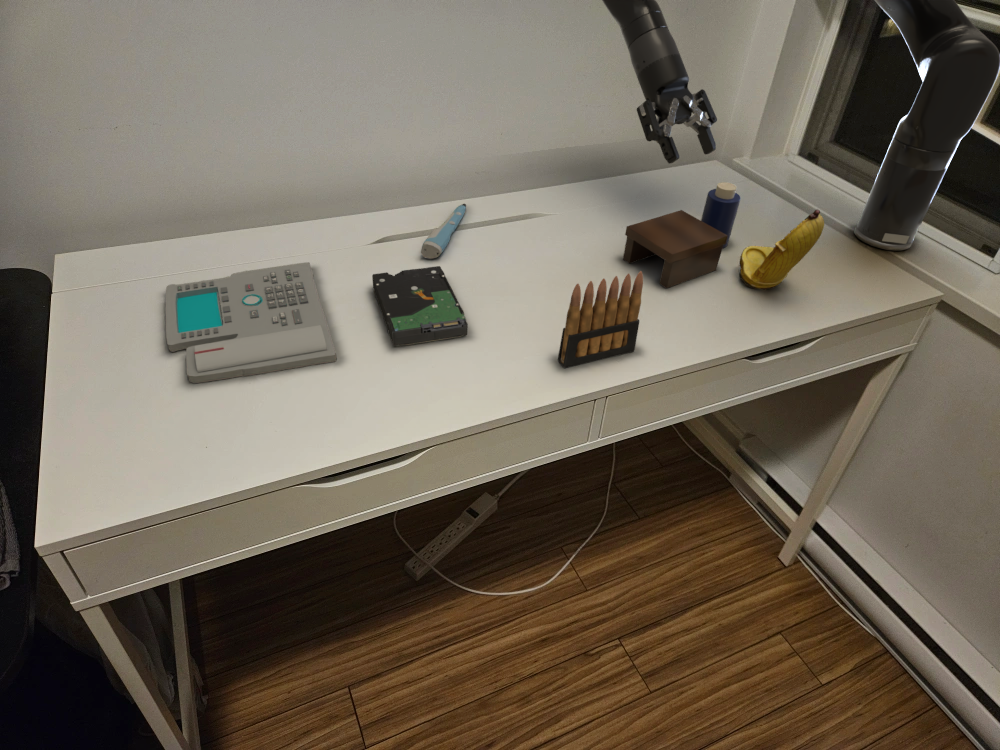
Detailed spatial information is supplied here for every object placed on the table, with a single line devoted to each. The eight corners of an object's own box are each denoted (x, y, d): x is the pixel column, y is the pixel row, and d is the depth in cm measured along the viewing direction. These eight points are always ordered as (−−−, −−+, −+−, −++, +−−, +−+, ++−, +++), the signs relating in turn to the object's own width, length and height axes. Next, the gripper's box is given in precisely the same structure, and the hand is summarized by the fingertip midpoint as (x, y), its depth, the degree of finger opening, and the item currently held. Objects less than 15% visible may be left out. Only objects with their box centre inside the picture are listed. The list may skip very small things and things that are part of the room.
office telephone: (337, 345, 86) (164, 375, 80) (339, 362, 88) (169, 392, 82) (308, 253, 103) (162, 273, 97) (310, 269, 105) (167, 289, 98)
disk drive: (371, 290, 101) (393, 349, 90) (370, 274, 99) (392, 331, 89) (440, 281, 104) (469, 336, 93) (440, 264, 102) (469, 319, 92)
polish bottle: (711, 231, 120) (725, 177, 114) (734, 244, 117) (750, 189, 111) (689, 238, 118) (703, 183, 112) (712, 252, 115) (728, 195, 108)
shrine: (811, 301, 104) (848, 209, 95) (766, 309, 102) (798, 215, 93) (766, 263, 113) (796, 175, 103) (723, 269, 110) (749, 180, 101)
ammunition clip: (627, 343, 94) (643, 266, 86) (634, 351, 93) (651, 273, 85) (557, 360, 90) (567, 281, 83) (563, 368, 89) (574, 289, 81)
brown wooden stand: (673, 242, 117) (681, 209, 113) (718, 269, 110) (728, 235, 107) (620, 260, 111) (626, 226, 107) (664, 289, 105) (672, 254, 101)
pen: (439, 262, 108) (439, 246, 106) (419, 258, 108) (419, 242, 107) (472, 209, 123) (472, 194, 121) (455, 206, 123) (455, 191, 121)
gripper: (639, 57, 108) (676, 154, 108) (703, 47, 115) (738, 139, 115) (612, 83, 115) (647, 174, 115) (674, 72, 122) (707, 158, 122)
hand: (692, 156), depth 115 cm, fingers open, 8 cm apart
